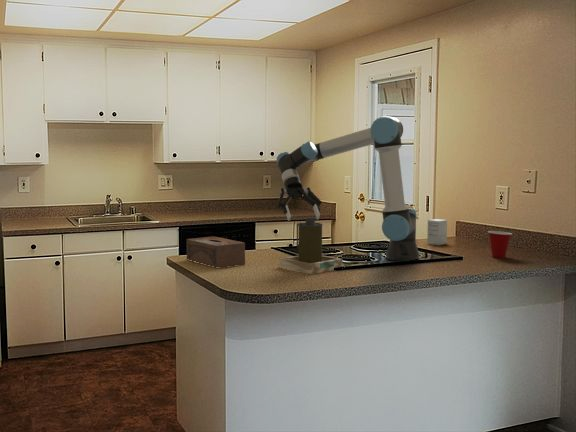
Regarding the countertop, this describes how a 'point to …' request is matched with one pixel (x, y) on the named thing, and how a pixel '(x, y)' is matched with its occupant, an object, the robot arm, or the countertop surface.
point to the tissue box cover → (216, 251)
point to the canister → (310, 241)
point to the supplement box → (437, 232)
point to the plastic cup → (499, 243)
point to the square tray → (310, 264)
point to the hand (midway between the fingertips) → (304, 218)
